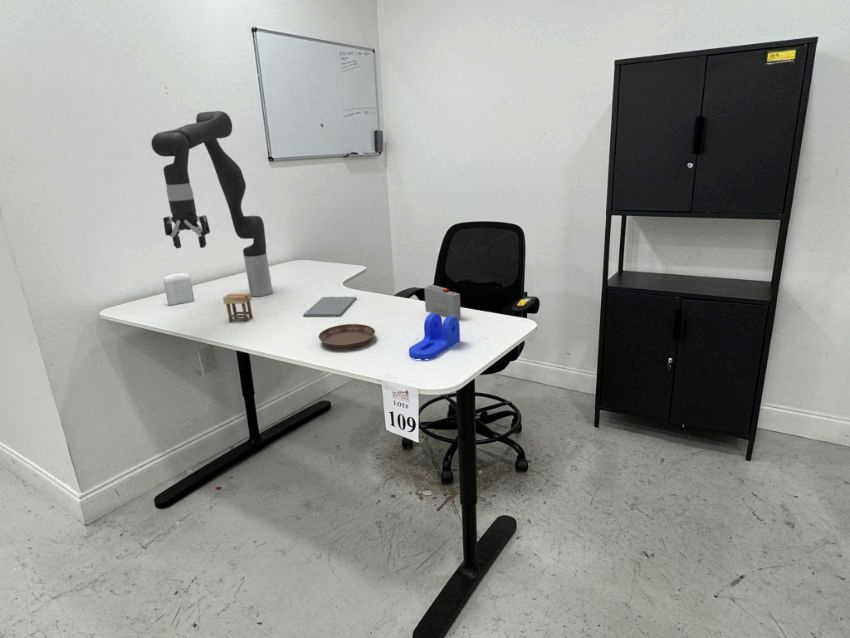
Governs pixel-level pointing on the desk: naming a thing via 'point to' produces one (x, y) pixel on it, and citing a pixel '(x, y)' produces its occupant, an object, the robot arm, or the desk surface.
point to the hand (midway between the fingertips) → (190, 247)
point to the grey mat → (330, 307)
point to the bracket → (436, 337)
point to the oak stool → (238, 299)
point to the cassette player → (442, 301)
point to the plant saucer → (347, 336)
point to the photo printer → (178, 288)
